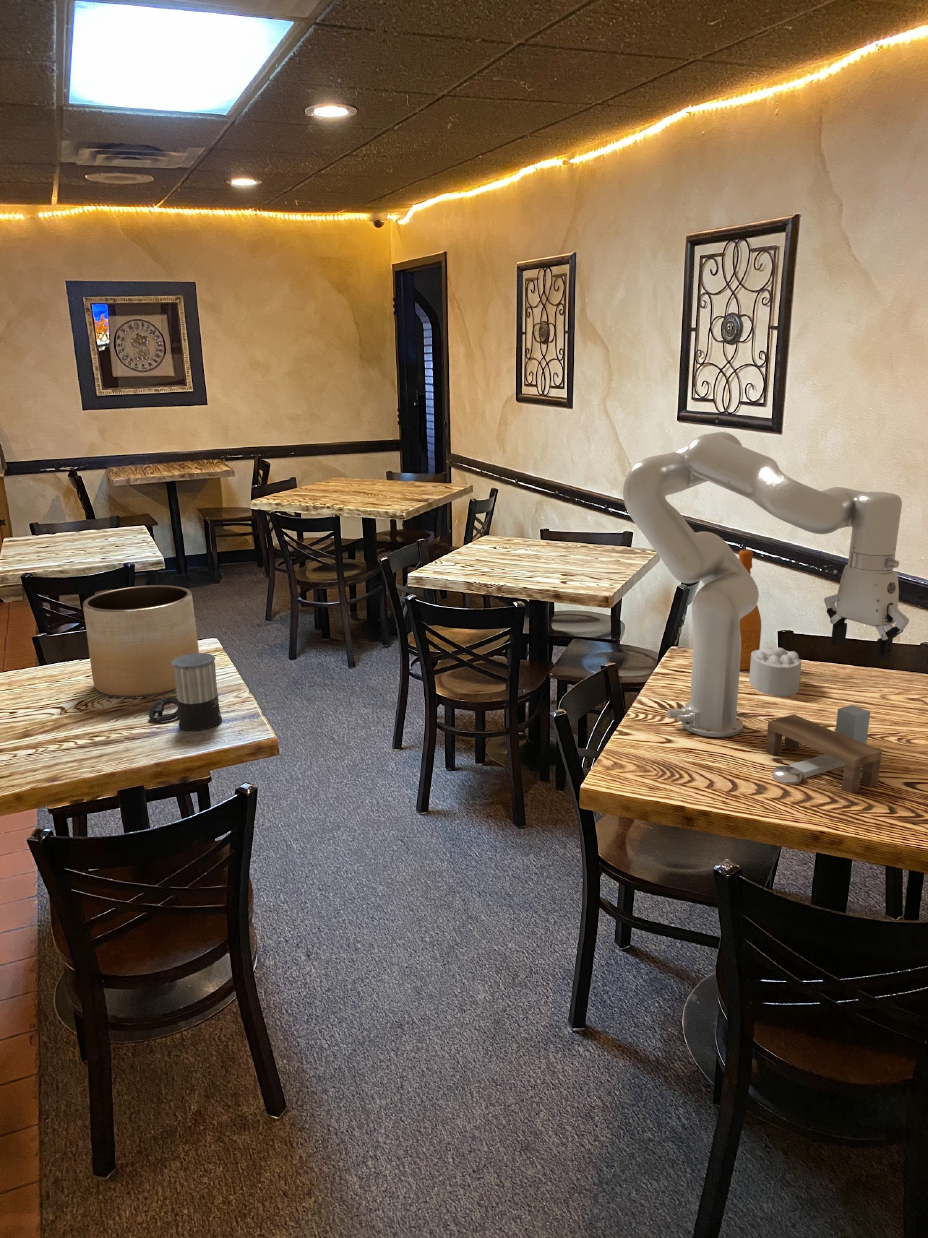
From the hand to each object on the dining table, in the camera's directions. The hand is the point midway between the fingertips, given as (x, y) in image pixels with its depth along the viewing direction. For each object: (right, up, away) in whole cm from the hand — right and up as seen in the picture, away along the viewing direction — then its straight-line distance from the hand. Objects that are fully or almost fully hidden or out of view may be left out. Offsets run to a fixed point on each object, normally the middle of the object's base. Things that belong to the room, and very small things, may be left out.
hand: (859, 651), depth 161 cm
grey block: (-5, -22, +3) cm, 23 cm away
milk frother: (-136, -17, +31) cm, 140 cm away
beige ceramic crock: (-153, -10, +55) cm, 162 cm away
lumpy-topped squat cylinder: (0, -10, +44) cm, 45 cm away
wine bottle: (-4, -6, +59) cm, 59 cm away
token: (-14, -24, -1) cm, 27 cm away
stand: (-7, -22, +2) cm, 23 cm away
